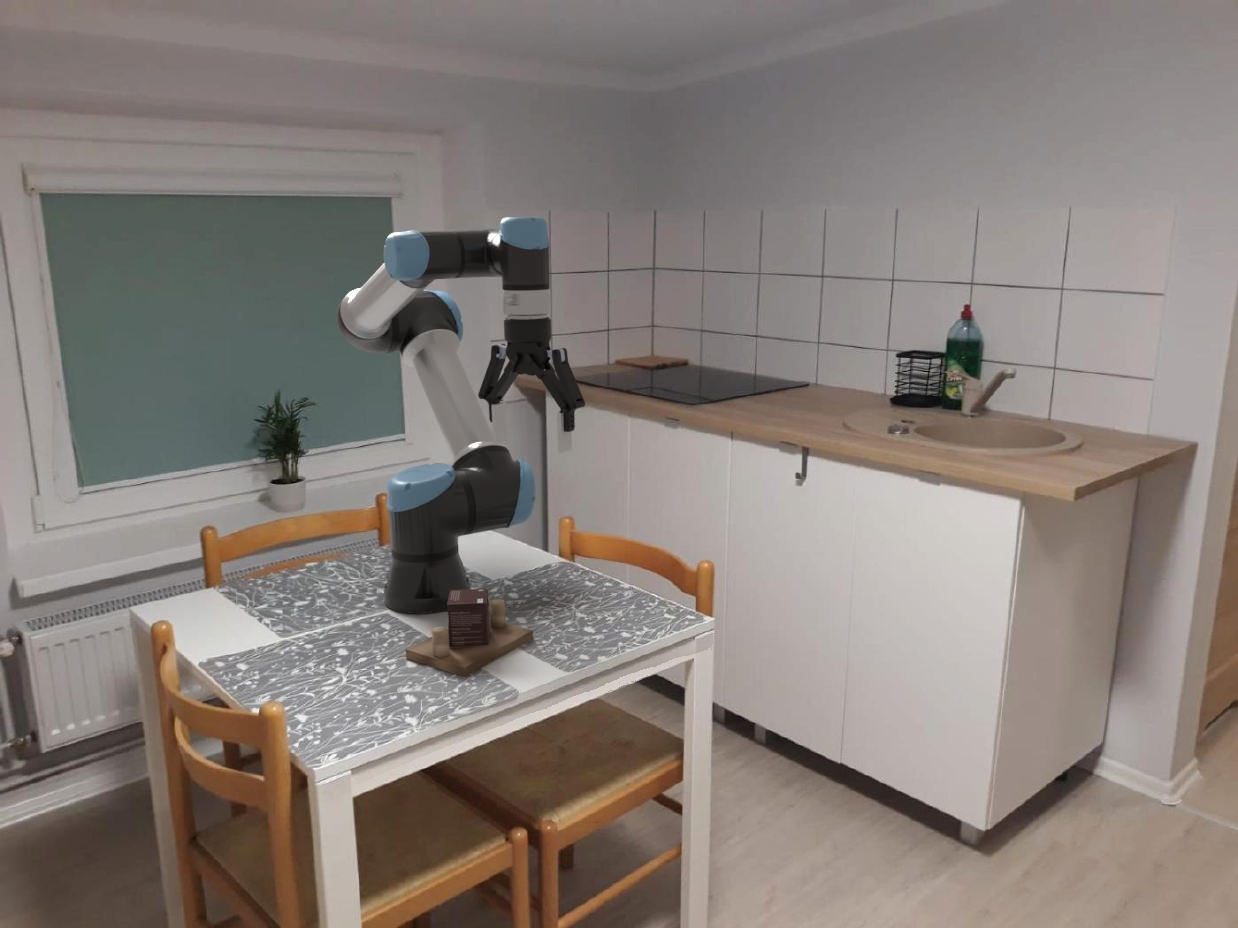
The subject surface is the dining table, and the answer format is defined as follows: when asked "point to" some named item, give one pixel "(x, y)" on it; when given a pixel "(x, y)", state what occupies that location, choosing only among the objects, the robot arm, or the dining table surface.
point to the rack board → (471, 658)
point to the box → (468, 618)
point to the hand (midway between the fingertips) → (531, 446)
